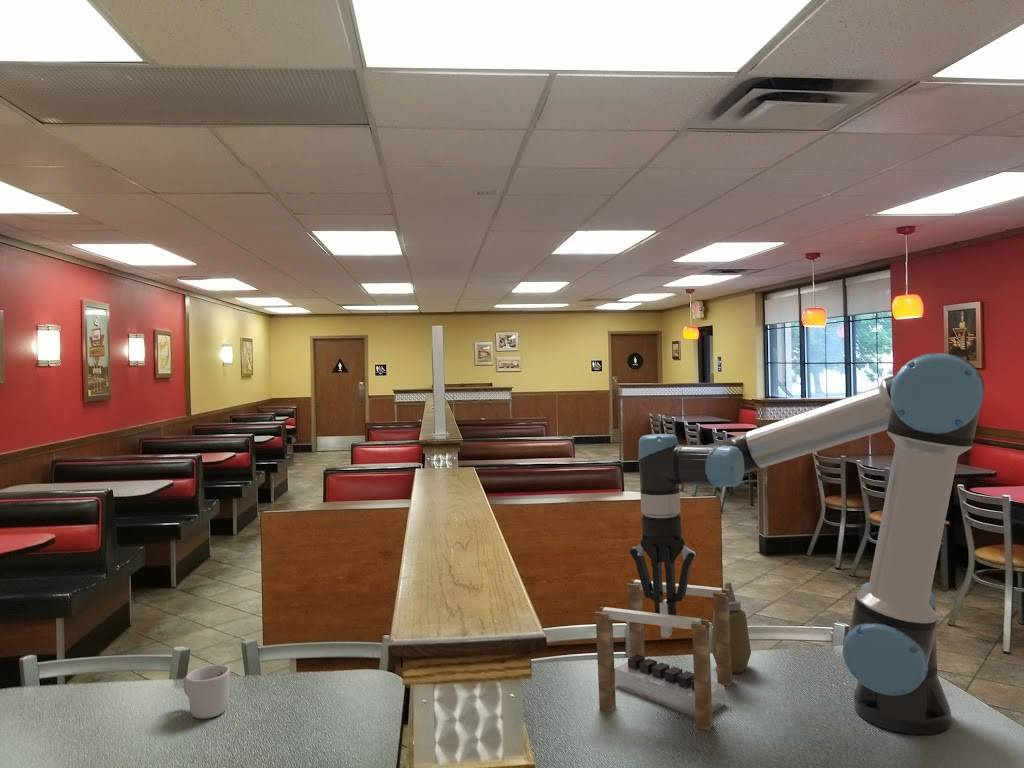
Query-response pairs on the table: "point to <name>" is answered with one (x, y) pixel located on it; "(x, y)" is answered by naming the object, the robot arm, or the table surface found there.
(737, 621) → the squeeze bottle
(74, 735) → the table surface
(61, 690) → the table surface
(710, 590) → the white crossbar
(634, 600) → the posts
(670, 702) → the breaker strip
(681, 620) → the long white bar
